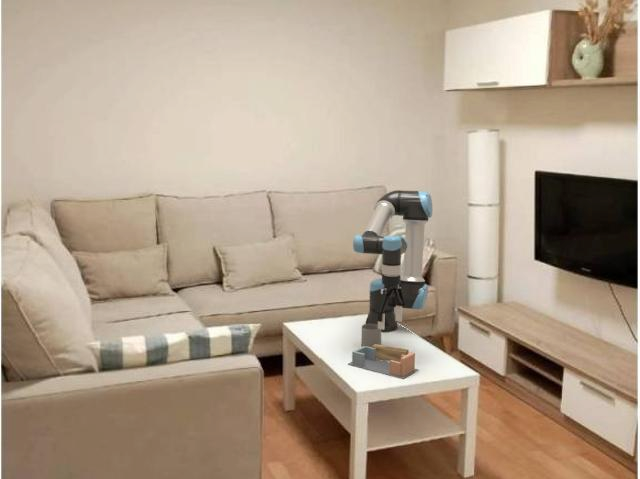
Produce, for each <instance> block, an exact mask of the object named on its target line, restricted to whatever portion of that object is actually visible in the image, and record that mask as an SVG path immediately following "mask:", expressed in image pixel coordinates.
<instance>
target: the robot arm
mask: <svg viewBox="0 0 640 479" xmlns="http://www.w3.org/2000/svg"><path fill="white" fill-rule="evenodd" d="M373 210H374V212H373V214H372V216H371V218H370V219H369V221H368V223H367V225H366V228H365V230H364V232H363V234H356V235H355V236H354V237H353V243H352V248H353V251H354V252H355V253H357V254H359V253H360V254H369V255H372V254H374V255H381V257H382V260H381V262H382V264H381V268H382V269H381V273H382V275H381V277H380V278H376V279H373V280H372V281H371V282H370V285H369V312H368V314H367V318H366V320H365V324H377V325H378V329H381V333H384V332H385V333H389V332H393V331H396V330H397V329H398V325H399V324H398V322H399V323H402V322H403V309H410V310H422V309H423V308H424V307H425V305H426V302H427V299H428V293H429V286H428V284H426V280H425V279H424V277H423V261H424V246H425V245H424V243H425V227H426V226H425V225H426V224H427V223H428V222H429V218H432V216H433V200H432V197H431V194H430V193H429V192H428V191H422V190H399V189H396V190H392V191H389V192H387V193H386V194H384V195H382V196H381V197H380V198H379V199H378V200H377V202H376V203H375V205H374V209H373ZM395 216H399V217H402V221H403V222H404V223H405V232H404V236H405V237H404V236H403V235H402V236H401V235H385V236H383V233H384V231H385V229H386V227H387V225H388V223H389V221H390V219H392V218H393V217H395ZM403 254H404V255H403ZM402 255H403V268H402V265H401V264H402V263H401V262H402ZM402 269H403V271H401V270H402ZM402 272H403V273H402ZM401 273H402V275H401Z"/></svg>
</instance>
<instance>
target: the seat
mask: <svg viewBox="0 0 640 479" xmlns="http://www.w3.org/2000/svg"><path fill="white" fill-rule="evenodd" d="M351 355H352V356H351V359H352V360H351V362H348V363H347V365H349V366H351V367H356V368H360V369H364V370H367V371H371V372H375V373H378V374H383V375H387V376H391V377H394V378H397V379H402V380H405V379H407V378H408V377H410V376H411V375H413V374H415V373H417V372H419V371H420V369H418V368H415V370H414V371H412V372H410V373H408V374H407V375H405V376H401V375H400V376H399V375H395V374H391V373H390V361H387V360H381V359H376V348H372V347H368V346H363V347H359V348H356V349H355V350H353V351H352V354H351Z"/></svg>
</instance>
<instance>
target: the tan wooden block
mask: <svg viewBox="0 0 640 479" xmlns="http://www.w3.org/2000/svg"><path fill="white" fill-rule="evenodd" d="M372 348H376V359H378V360H382V361H386V362H390V361H391V360H393V361H397V362H400V359H401V355H407V354H409V353H410V349H408V348H401V347H395V346H389V345H384V344H381V345H378V344H374V345H373V346H372Z"/></svg>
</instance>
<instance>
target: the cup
mask: <svg viewBox="0 0 640 479" xmlns="http://www.w3.org/2000/svg"><path fill="white" fill-rule="evenodd" d="M360 340H361V342H360V343H361V345H360V346H361V347H363V346H368V347H372V346H373V345H374V344H378V345H382V332H381V329H378V325H377V324H366V323H365V324H362V325H361V339H360ZM361 347H360V348H361Z"/></svg>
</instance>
